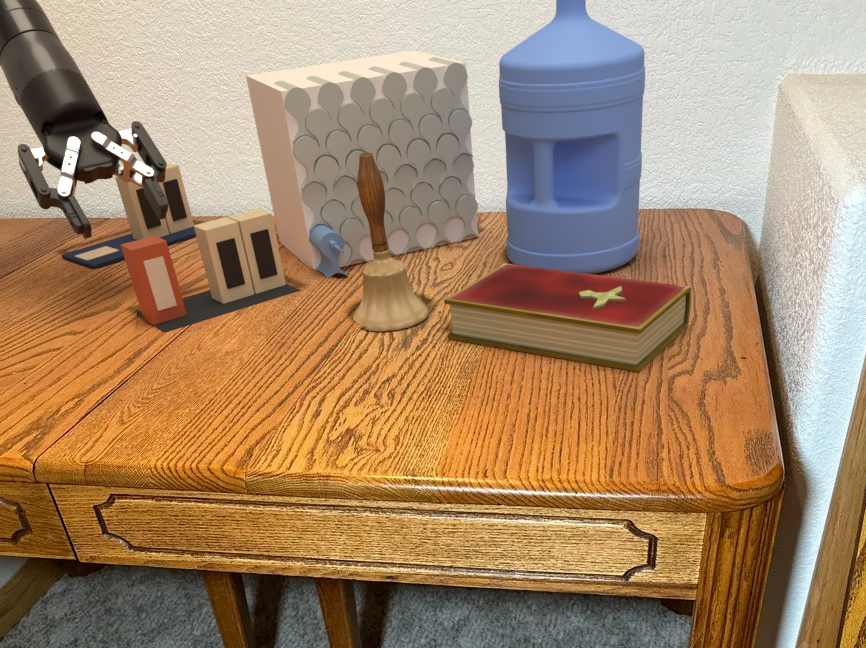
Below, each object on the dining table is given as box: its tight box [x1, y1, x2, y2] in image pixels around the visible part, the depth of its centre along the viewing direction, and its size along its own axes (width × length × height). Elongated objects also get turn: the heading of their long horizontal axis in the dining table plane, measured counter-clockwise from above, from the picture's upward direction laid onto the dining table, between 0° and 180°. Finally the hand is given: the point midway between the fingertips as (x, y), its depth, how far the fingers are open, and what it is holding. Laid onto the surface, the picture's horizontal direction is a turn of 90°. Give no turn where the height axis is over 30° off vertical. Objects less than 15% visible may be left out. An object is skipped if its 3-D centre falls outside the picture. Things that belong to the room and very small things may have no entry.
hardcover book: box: [443, 262, 692, 373], centre depth 90 cm, size 12×21×4 cm, turn 58°
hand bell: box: [352, 153, 430, 333], centre depth 93 cm, size 8×8×16 cm
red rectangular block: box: [121, 236, 187, 326], centre depth 99 cm, size 4×3×8 cm
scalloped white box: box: [245, 49, 480, 279], centre depth 111 cm, size 22×24×20 cm
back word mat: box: [61, 162, 197, 270], centre depth 124 cm, size 18×9×8 cm, turn 137°
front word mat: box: [136, 208, 301, 334], centre depth 102 cm, size 17×9×8 cm, turn 128°
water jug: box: [498, 0, 646, 275], centre depth 100 cm, size 16×16×28 cm
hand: (126, 223), depth 98 cm, fingers open, 8 cm apart
